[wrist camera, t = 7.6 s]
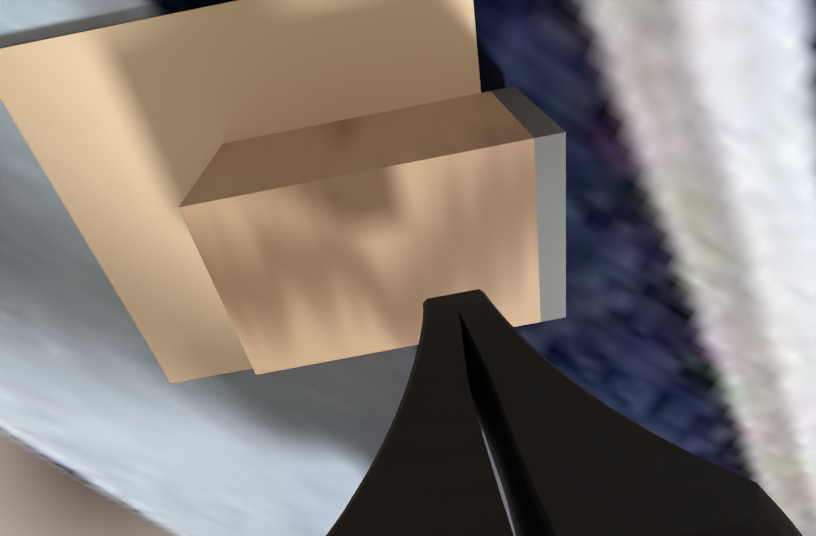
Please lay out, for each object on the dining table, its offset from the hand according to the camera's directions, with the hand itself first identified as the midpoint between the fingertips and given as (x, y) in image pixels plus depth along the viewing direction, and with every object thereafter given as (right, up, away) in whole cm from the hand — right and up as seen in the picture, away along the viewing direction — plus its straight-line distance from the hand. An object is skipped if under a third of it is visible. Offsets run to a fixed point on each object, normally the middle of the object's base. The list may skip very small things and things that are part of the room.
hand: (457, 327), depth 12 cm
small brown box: (+3, +4, +5) cm, 7 cm away
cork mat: (-6, +4, +7) cm, 10 cm away
